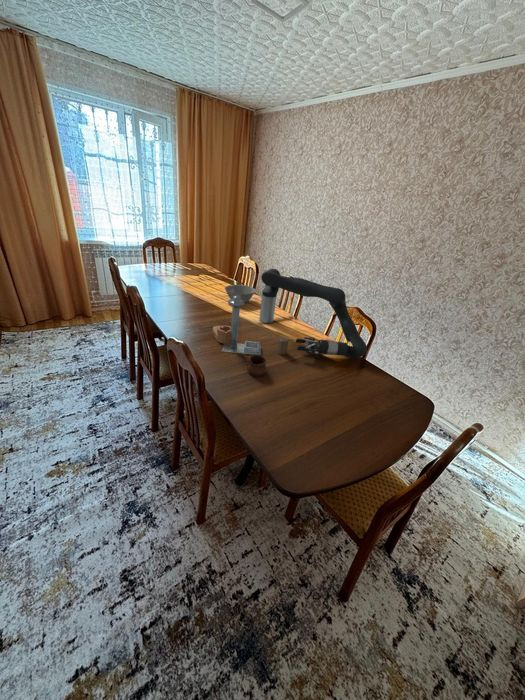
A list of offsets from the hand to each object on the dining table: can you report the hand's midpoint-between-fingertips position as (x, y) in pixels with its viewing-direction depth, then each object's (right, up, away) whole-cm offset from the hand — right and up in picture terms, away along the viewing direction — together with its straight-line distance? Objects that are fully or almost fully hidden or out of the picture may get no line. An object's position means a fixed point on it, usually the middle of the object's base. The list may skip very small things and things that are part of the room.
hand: (296, 344), depth 148 cm
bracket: (-40, +5, +11) cm, 42 cm away
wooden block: (-8, -5, +2) cm, 9 cm away
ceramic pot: (-21, -14, -16) cm, 29 cm away
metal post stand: (-29, -2, +1) cm, 29 cm away
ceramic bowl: (-35, +33, +65) cm, 81 cm away
